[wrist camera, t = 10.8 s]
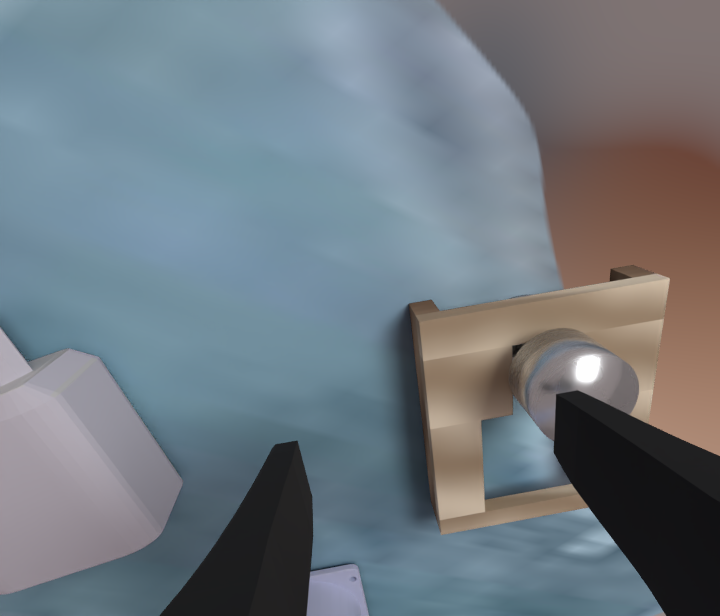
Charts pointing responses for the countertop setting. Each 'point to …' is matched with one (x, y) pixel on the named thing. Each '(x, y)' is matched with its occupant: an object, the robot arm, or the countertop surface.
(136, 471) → the charger
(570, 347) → the peg
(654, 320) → the keyhole plate
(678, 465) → the robot arm
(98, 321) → the countertop surface
